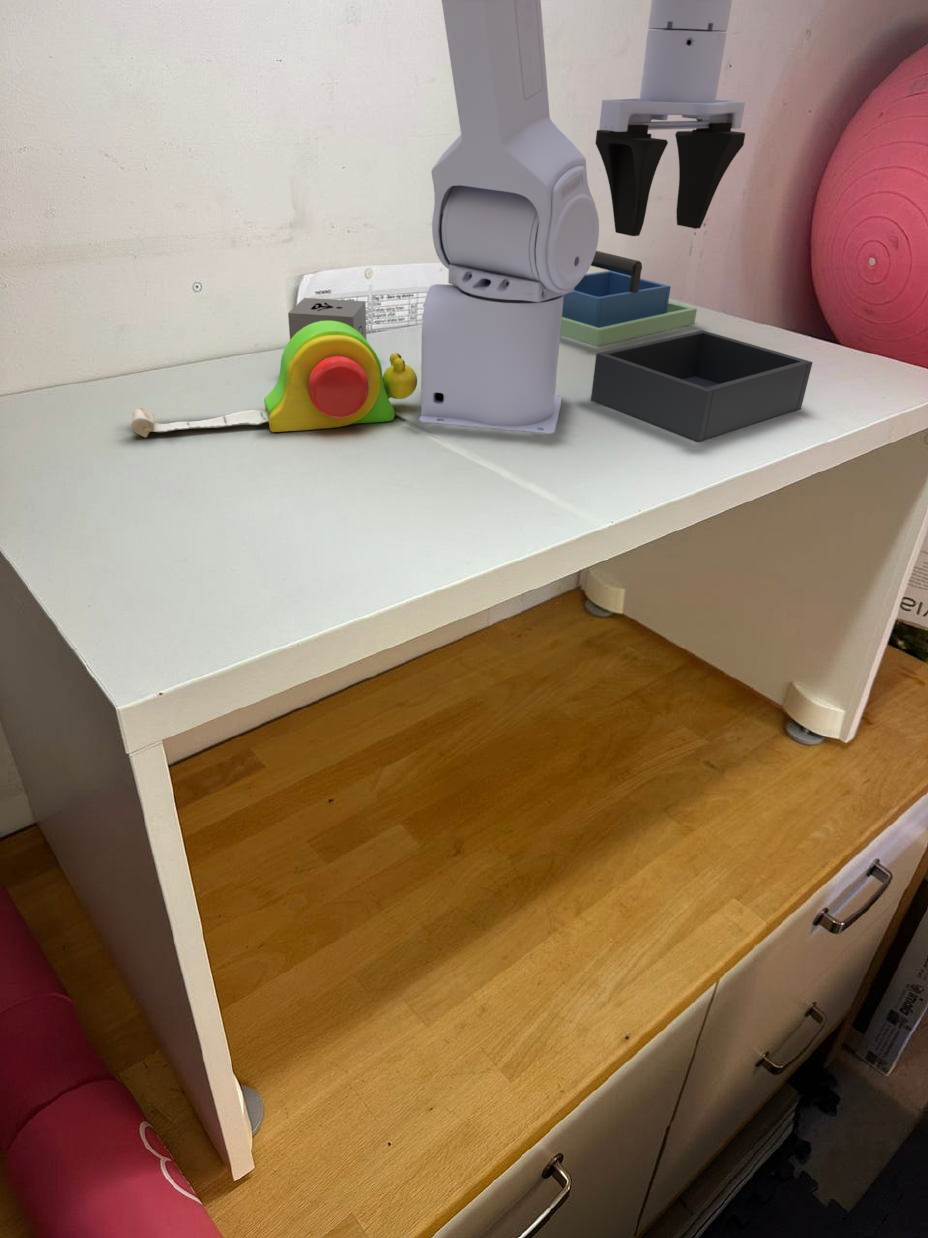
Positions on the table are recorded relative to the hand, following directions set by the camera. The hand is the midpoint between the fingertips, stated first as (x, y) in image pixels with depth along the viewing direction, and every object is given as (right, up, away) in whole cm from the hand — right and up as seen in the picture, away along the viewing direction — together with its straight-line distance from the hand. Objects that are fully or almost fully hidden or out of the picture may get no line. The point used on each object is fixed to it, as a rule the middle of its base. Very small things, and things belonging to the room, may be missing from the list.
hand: (658, 230), depth 73 cm
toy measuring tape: (-29, -18, -11) cm, 36 cm away
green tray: (-3, -3, +14) cm, 15 cm away
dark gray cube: (-27, -12, 0) cm, 29 cm away
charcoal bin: (+1, -16, -6) cm, 17 cm away
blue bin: (-3, -3, +14) cm, 15 cm away
